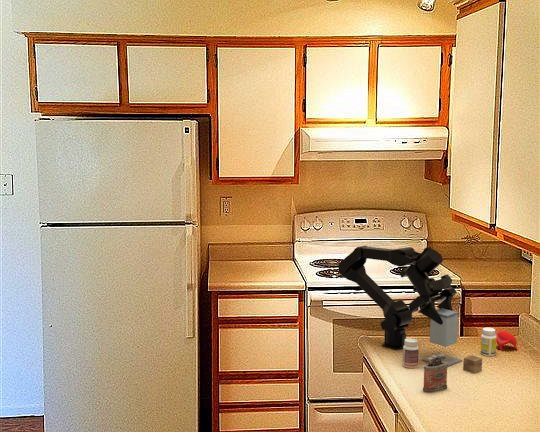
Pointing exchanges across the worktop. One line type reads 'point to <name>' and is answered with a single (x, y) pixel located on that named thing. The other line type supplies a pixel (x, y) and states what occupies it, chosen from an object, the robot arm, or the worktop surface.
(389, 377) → the worktop surface
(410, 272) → the robot arm
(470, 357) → the block
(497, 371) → the worktop surface
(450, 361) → the coaster
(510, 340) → the red plastic curved piece
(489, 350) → the supplement bottle
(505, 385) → the worktop surface
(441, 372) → the lighter
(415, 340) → the pill bottle
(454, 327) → the cover
